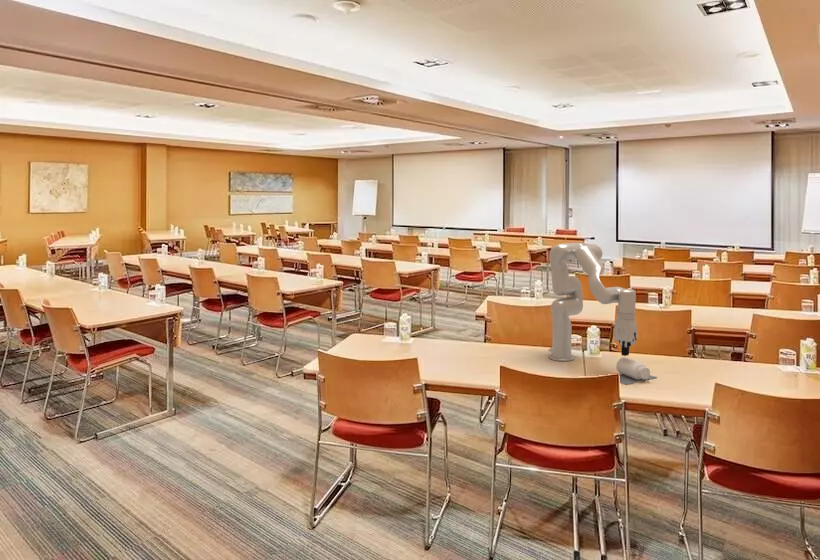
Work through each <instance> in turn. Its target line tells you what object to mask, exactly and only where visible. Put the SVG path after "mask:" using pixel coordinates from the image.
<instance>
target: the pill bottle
mask: <svg viewBox="0 0 820 560" xmlns="http://www.w3.org/2000/svg"><path fill="white" fill-rule="evenodd" d="M615 366H616V368H615V369H616V370H617V372H618V373H619V374H623V375H626V376H629V377H631V378H634V379H637V380H640V379H647V378H648V377H649V376H650V374H651V371H650V368H649V367H647V366H646V364H644V363H643V362H640V361H638V360H634V359H632V358H628V357H626V356H624V357H621V358H619V359H618V360H617V362H616V365H615Z"/></svg>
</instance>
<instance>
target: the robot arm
mask: <svg viewBox="0 0 820 560" xmlns="http://www.w3.org/2000/svg"><path fill="white" fill-rule="evenodd" d="M602 257H603V250H602V248H601V247H600V246H599V245H598V244H595V243H594V244H593V243H584V242H565V243H558V244H556V245H554V246H553V247H552V248H551V249H550V251H549V255H548V260H549V264H550V271H551V273H550V274H551V285H552V286H551V287H552V291H553V293H554V294H555V296H567V297H562V298H561V297H560V298H556V299H554V300H553V301H552V302H551V305H550V312H551V318H552V347H550V348H549V349H548V352H550V354H549V357H548V358H549V359H550V360H553V361H556V362H570V361H573V360H575V356H574V355H572V335H573V334H572V331H573V330H572V328H573V327H572V321H571V319H570V317H571V316H577V315H579V314H581V313H582V311H583V307H584V300H583V299H584V298H583V285H582V282H581V280H580V279H579V278H578V277H577V276H574V275H569V266H568V265H567V263H566V262H565V261H569V260H570V261H571V260H577V262H578V263H579V264H580V266H581V267H582V269H583V270H584V272H585V274H586V275H587V276H588V286H589V290H590V292H591V294H592V295H593V296H594V298H595V299H596V300H597V302H599V303H600V304H602V305H610V304H617V312H616V315H617V317H615V321H614V327H613V328H614V329H613V338H614V339H615V342H619V344H620V347H621V356H624V357H626V356H627V357H628V356H629V355H630V348H631V346H632V345H633V346H634V345H637V340H638V324H637V320H636V304H637V303H636V301H637V298H636V297H637V296H636V295H637V294H636V292H637V291H636V290H635V289H630V288H624V287H621V286H612V287H611V286H609V287H605V285H604V284H603V283H602V282H601V281H602V280H600V276H601V275H602V274H603V273H604V271H605V268H606V267H605V265H603V264H602V262H601V259H602Z"/></svg>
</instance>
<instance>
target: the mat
mask: <svg viewBox="0 0 820 560" xmlns="http://www.w3.org/2000/svg"><path fill="white" fill-rule="evenodd" d="M619 375H620V383H619V384H623V385H625V386H628V385H633V384H637V383H640V382H645V381H649V380H653V379H654V380H655V379H657V378H658V377H657V376H654V375H650V376H649V377H648V378H647V379H640V380H637V379H634V378H631V377H629V376H626V375H623V374H621V373H619Z"/></svg>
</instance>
